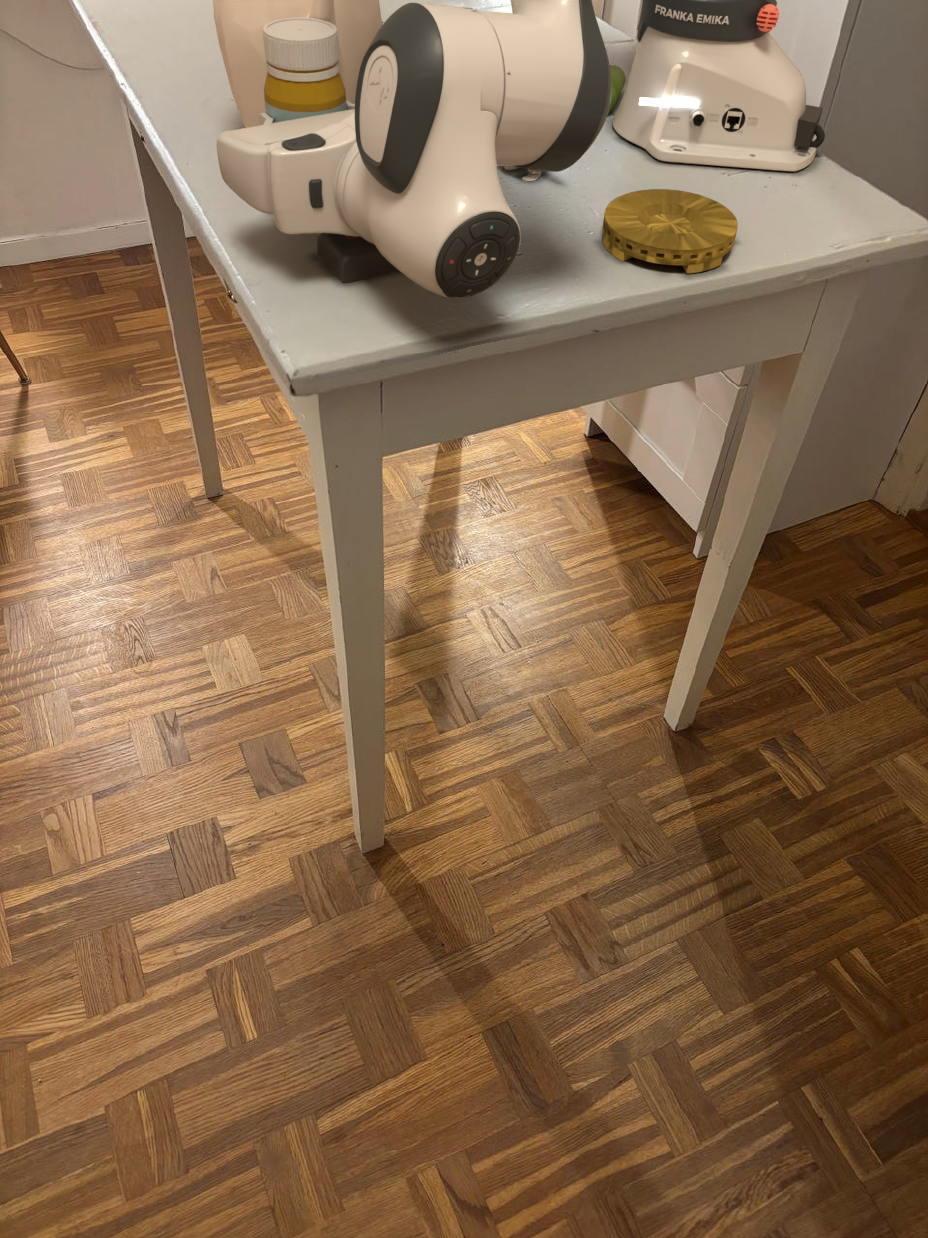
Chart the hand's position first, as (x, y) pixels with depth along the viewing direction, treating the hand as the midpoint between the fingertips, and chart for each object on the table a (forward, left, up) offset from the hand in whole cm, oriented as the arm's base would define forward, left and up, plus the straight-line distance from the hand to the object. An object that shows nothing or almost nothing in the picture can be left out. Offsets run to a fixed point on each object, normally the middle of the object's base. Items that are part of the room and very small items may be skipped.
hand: (302, 115), depth 84 cm
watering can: (+5, -12, -8) cm, 15 cm away
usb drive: (-11, +7, -8) cm, 15 cm away
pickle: (-22, -37, -8) cm, 44 cm away
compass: (-33, -5, -8) cm, 35 cm away
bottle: (-1, +1, -8) cm, 8 cm away
